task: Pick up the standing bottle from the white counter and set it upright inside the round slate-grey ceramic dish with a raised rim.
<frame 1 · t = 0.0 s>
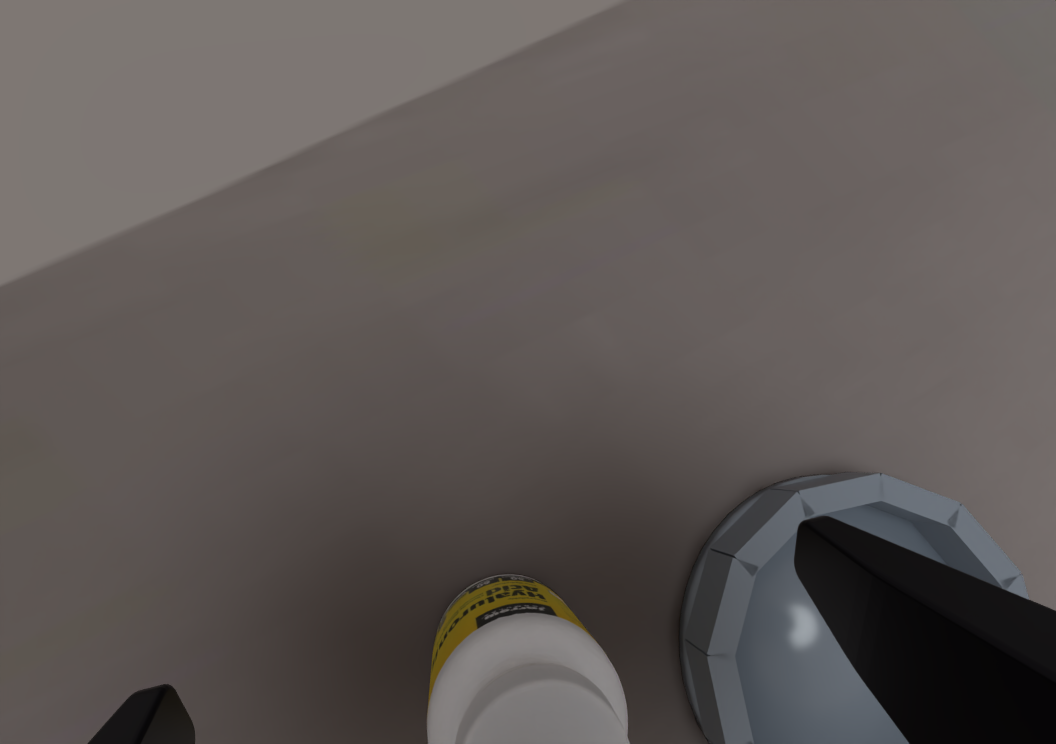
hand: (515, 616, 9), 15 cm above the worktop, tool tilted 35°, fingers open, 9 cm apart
round dish: (834, 639, 24), on the worktop
supplement bottle: (503, 643, 23), on the worktop
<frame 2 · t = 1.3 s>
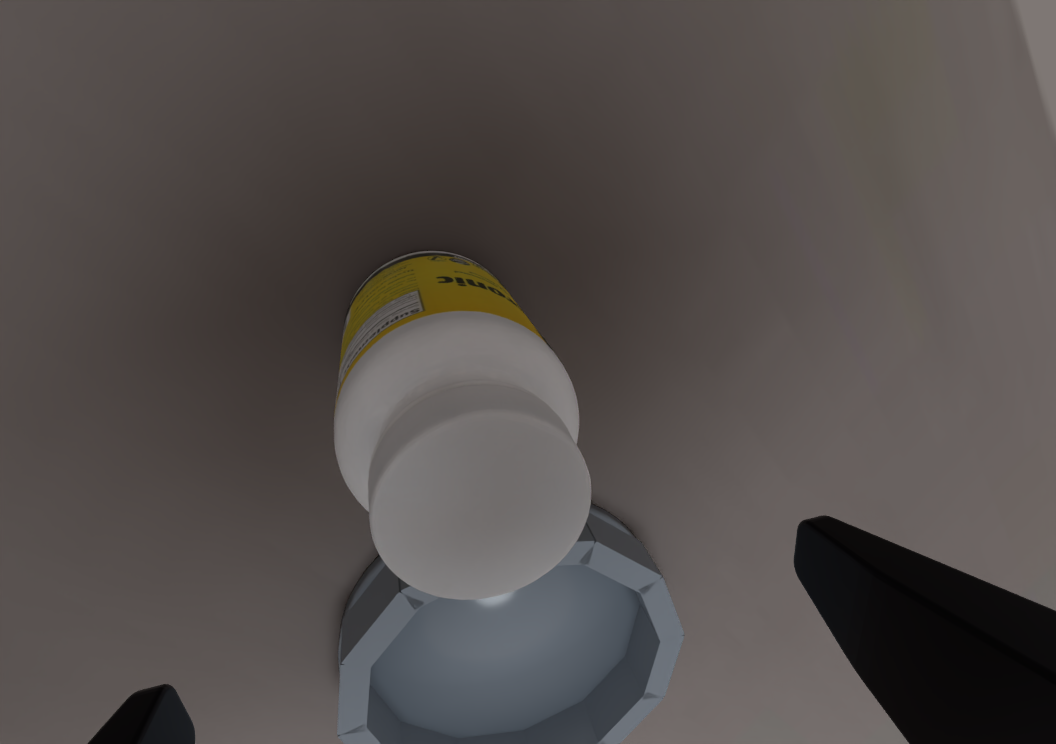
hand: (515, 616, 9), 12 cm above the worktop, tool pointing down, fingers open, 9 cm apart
round dish: (504, 625, 25), on the worktop
supplement bottle: (431, 327, 19), on the worktop
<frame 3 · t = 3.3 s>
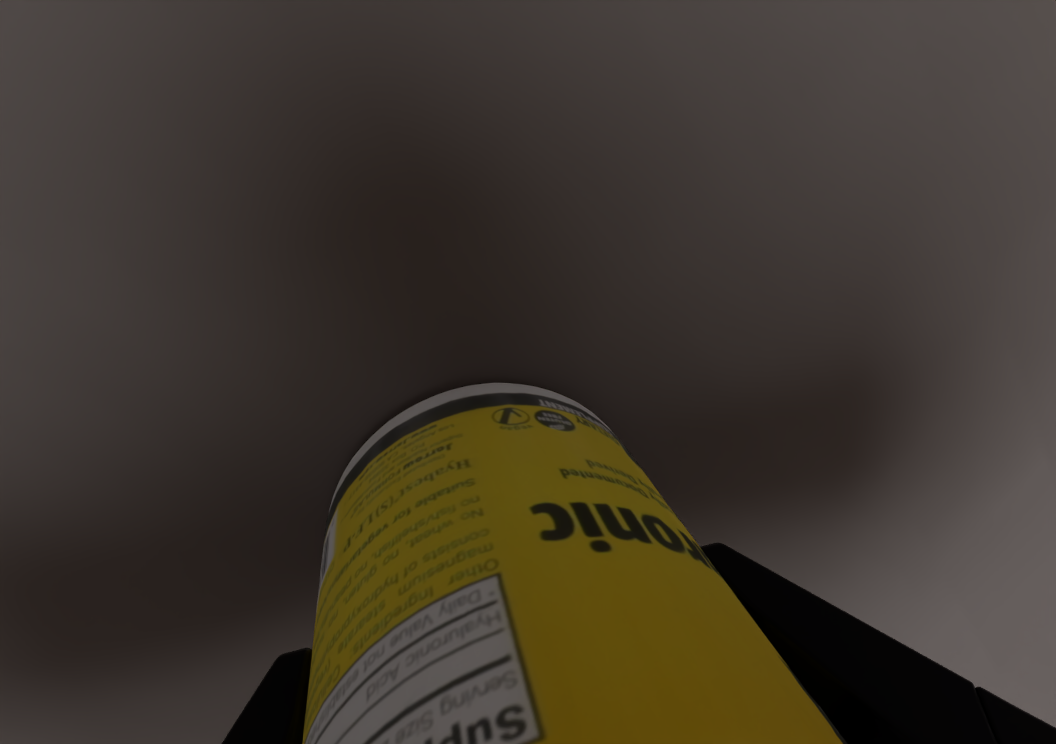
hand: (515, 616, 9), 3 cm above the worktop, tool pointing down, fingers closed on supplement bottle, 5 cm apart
supplement bottle: (483, 501, 11), on the worktop, touching gripper
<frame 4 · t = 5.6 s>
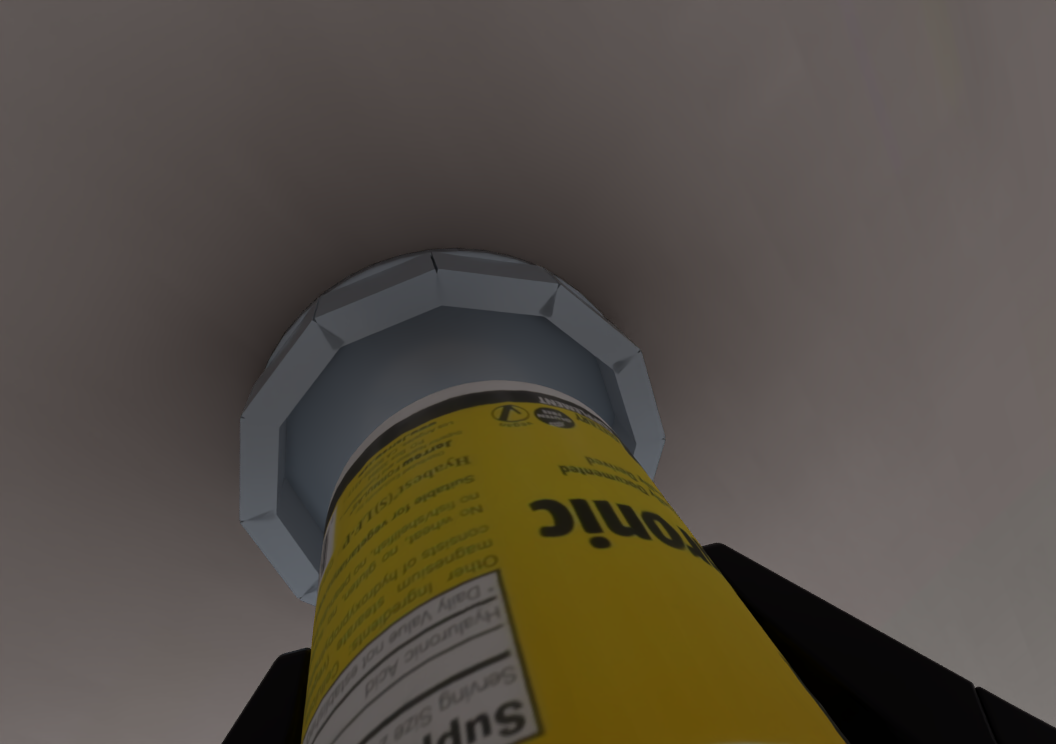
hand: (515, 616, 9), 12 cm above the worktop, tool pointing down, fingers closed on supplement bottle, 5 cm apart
round dish: (455, 433, 21), on the worktop
supplement bottle: (483, 499, 11), point 10 cm above the worktop, touching gripper
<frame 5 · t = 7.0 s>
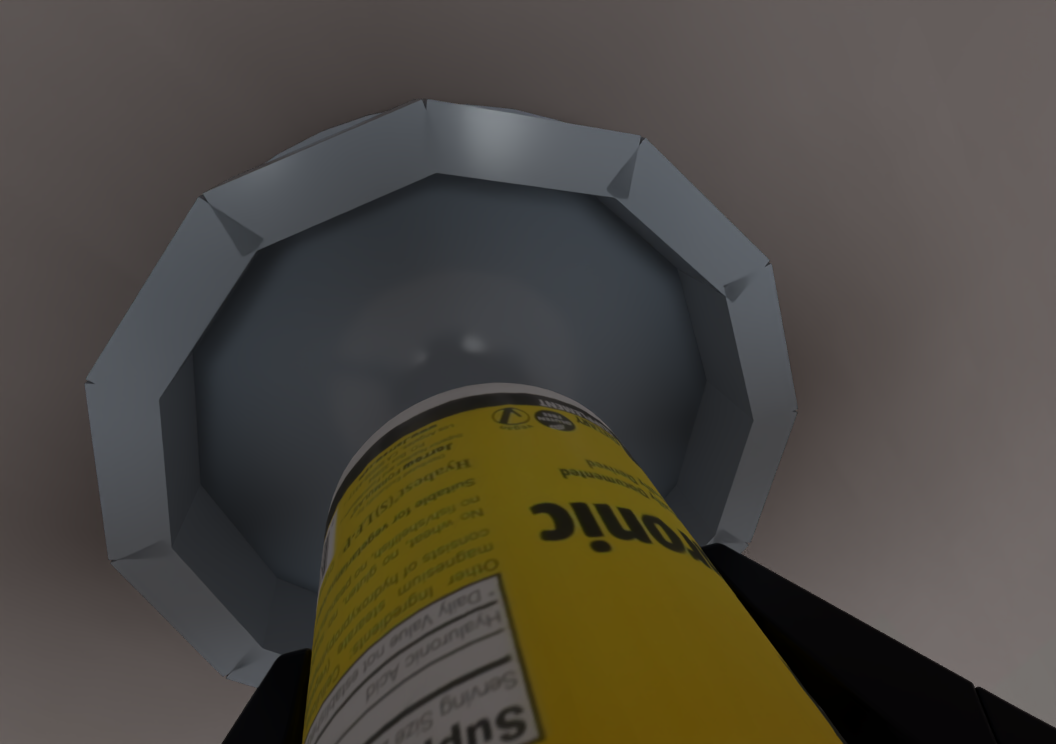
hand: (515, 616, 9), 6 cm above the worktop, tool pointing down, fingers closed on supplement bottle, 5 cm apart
round dish: (466, 412, 14), on the worktop
supplement bottle: (483, 501, 11), point 4 cm above the worktop, touching gripper
when the fingers open (5 cm above the worktop, at t = 8.1 s): supplement bottle drops 1 cm, resting on round dish.
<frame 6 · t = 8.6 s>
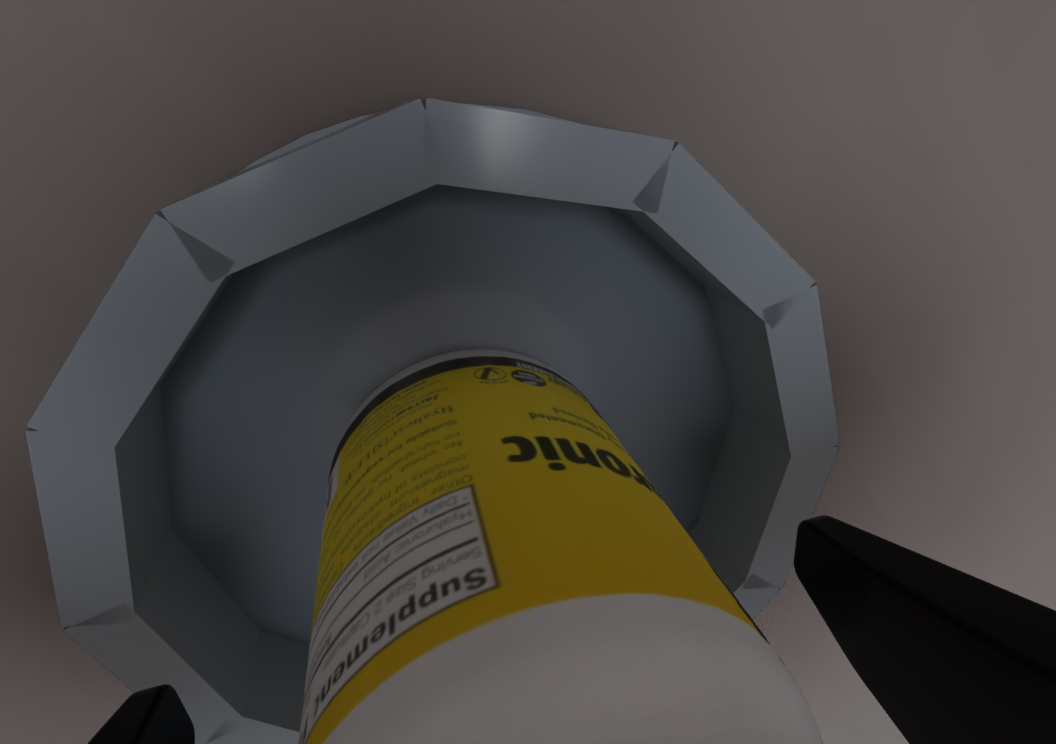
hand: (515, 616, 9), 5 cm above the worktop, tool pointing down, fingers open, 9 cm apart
round dish: (469, 443, 13), on the worktop
supplement bottle: (470, 459, 12), point 1 cm above the worktop, touching round dish
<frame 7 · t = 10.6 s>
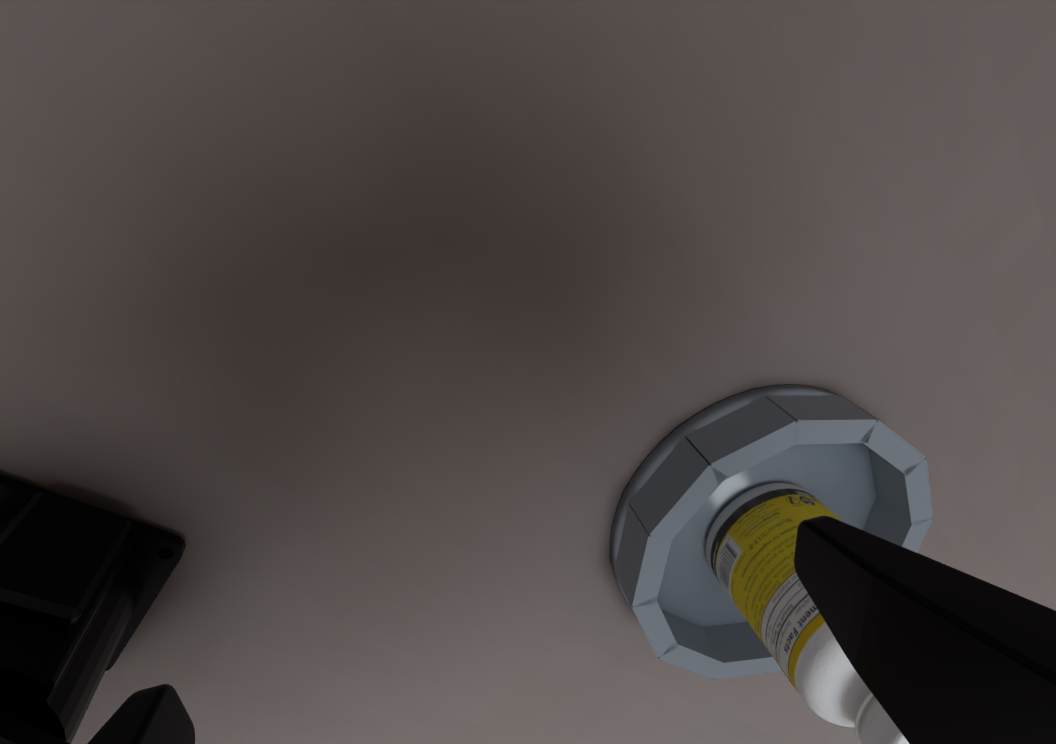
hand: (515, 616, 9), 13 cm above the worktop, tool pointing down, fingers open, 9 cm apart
round dish: (750, 518, 27), on the worktop
supplement bottle: (756, 526, 26), point 1 cm above the worktop, touching round dish
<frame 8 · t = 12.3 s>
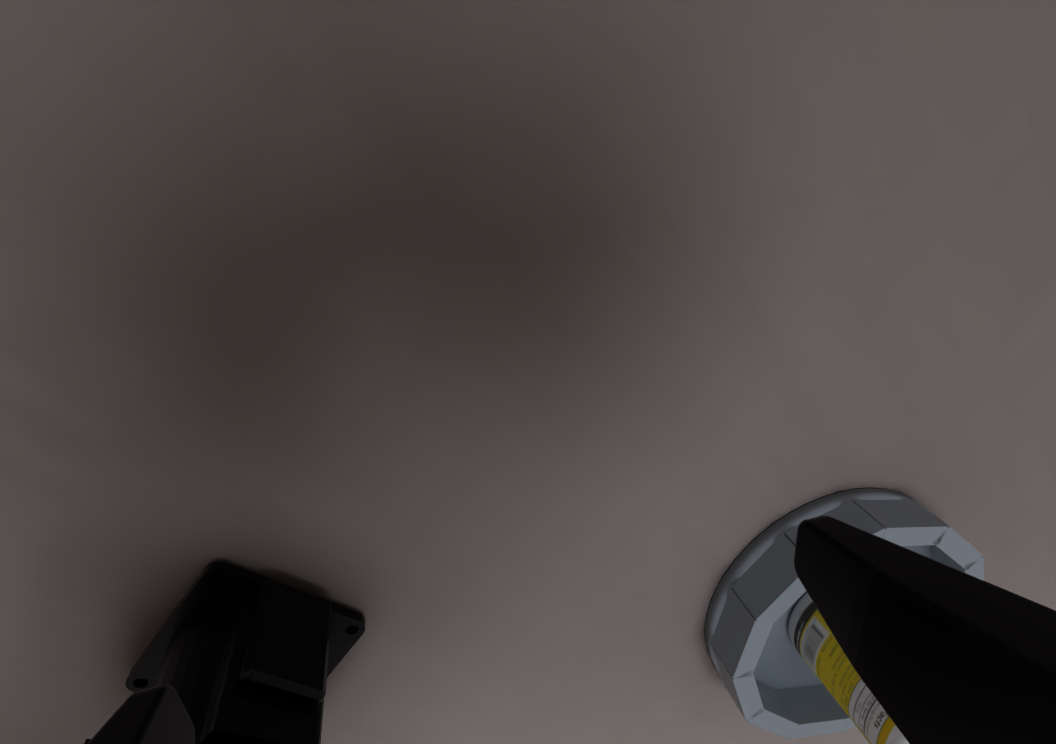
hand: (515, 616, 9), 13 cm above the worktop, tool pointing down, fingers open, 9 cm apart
round dish: (823, 596, 31), on the worktop
supplement bottle: (830, 605, 30), point 1 cm above the worktop, touching round dish
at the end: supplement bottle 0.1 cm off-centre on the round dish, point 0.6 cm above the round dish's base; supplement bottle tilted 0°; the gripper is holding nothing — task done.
